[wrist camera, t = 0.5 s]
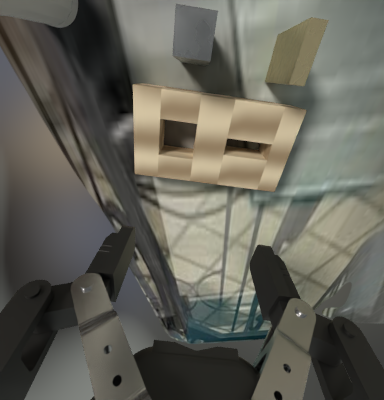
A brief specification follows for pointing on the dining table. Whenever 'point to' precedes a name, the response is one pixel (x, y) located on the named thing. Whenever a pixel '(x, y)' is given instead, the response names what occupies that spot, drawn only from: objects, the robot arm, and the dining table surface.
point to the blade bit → (296, 52)
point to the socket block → (213, 137)
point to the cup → (41, 11)
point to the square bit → (194, 34)
